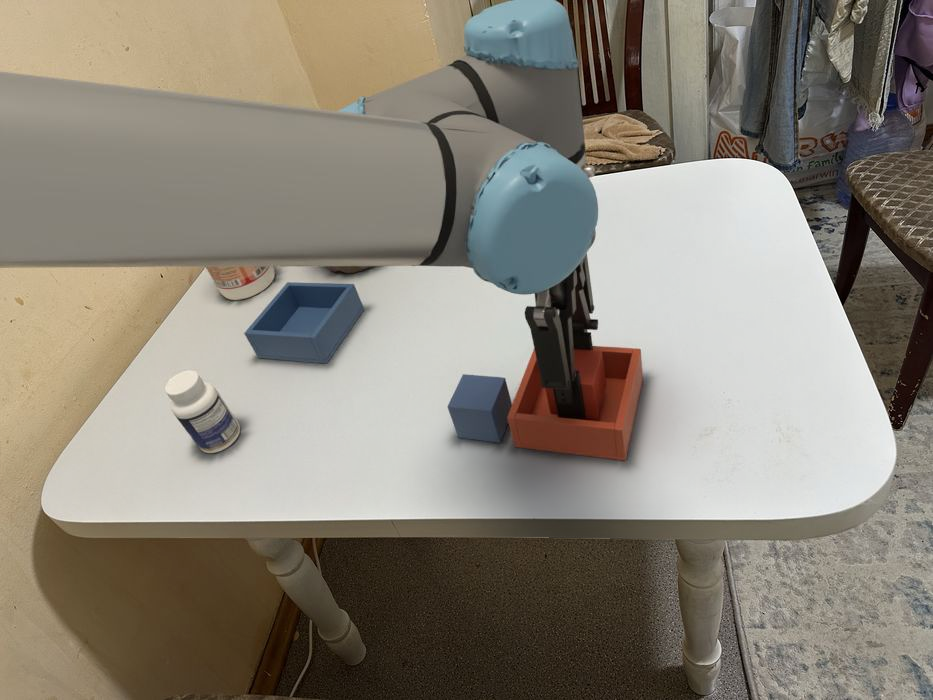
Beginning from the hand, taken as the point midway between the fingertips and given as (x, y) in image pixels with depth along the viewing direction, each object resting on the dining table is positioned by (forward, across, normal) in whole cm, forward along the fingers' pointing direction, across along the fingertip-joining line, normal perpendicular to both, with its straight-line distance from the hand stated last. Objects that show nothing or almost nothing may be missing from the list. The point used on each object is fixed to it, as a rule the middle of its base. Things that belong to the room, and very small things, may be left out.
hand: (578, 397), depth 70 cm
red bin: (+2, 0, 0) cm, 2 cm away
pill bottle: (+2, -10, +43) cm, 44 cm away
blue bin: (+2, +10, +41) cm, 42 cm away
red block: (0, 0, 0) cm, 0 cm away
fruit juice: (+2, +21, +60) cm, 64 cm away
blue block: (+2, -3, +10) cm, 11 cm away
